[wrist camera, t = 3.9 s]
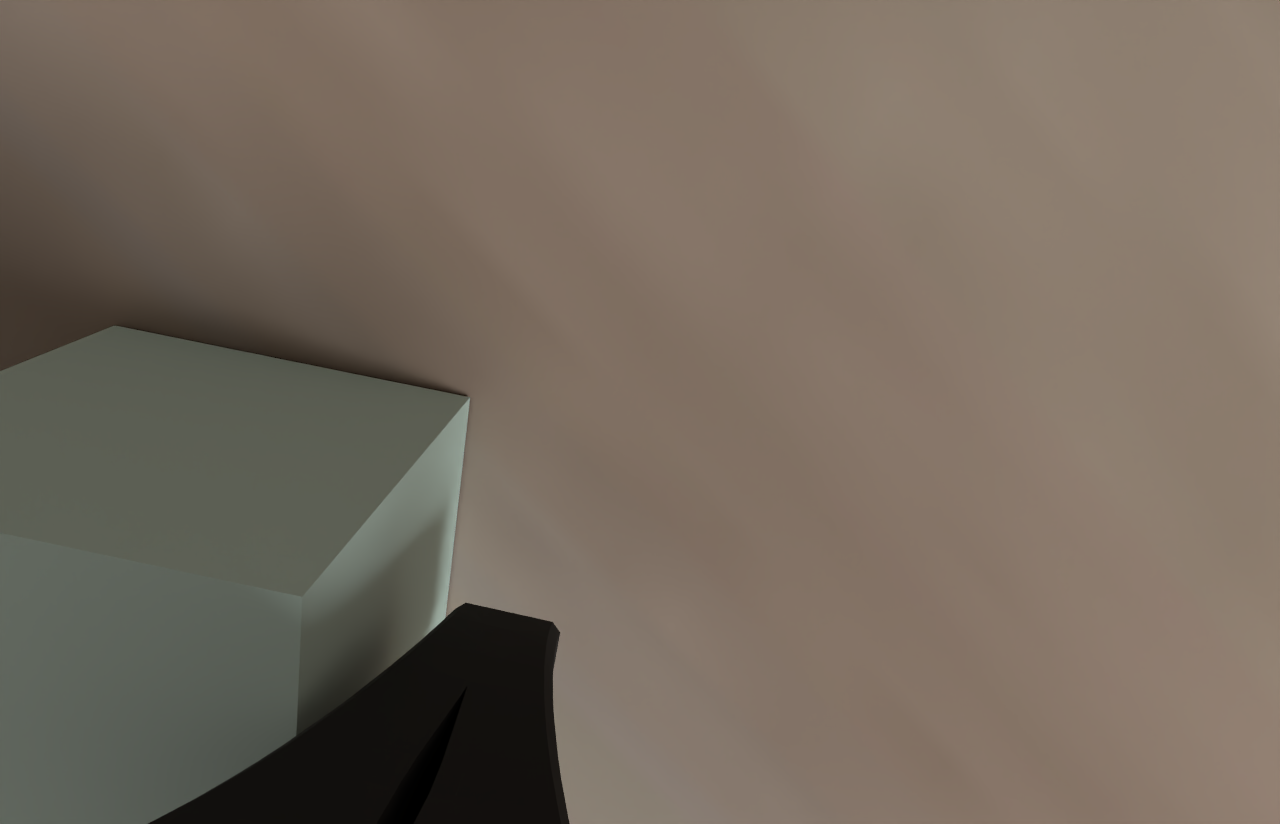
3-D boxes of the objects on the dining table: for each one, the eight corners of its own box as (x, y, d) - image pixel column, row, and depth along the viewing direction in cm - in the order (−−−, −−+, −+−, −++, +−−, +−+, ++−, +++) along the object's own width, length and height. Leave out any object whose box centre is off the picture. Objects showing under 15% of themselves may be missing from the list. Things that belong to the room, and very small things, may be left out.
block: (436, 695, 14) (284, 1004, 9) (126, 628, 14) (-174, 899, 10) (470, 397, 12) (301, 596, 8) (115, 325, 12) (-265, 476, 8)
